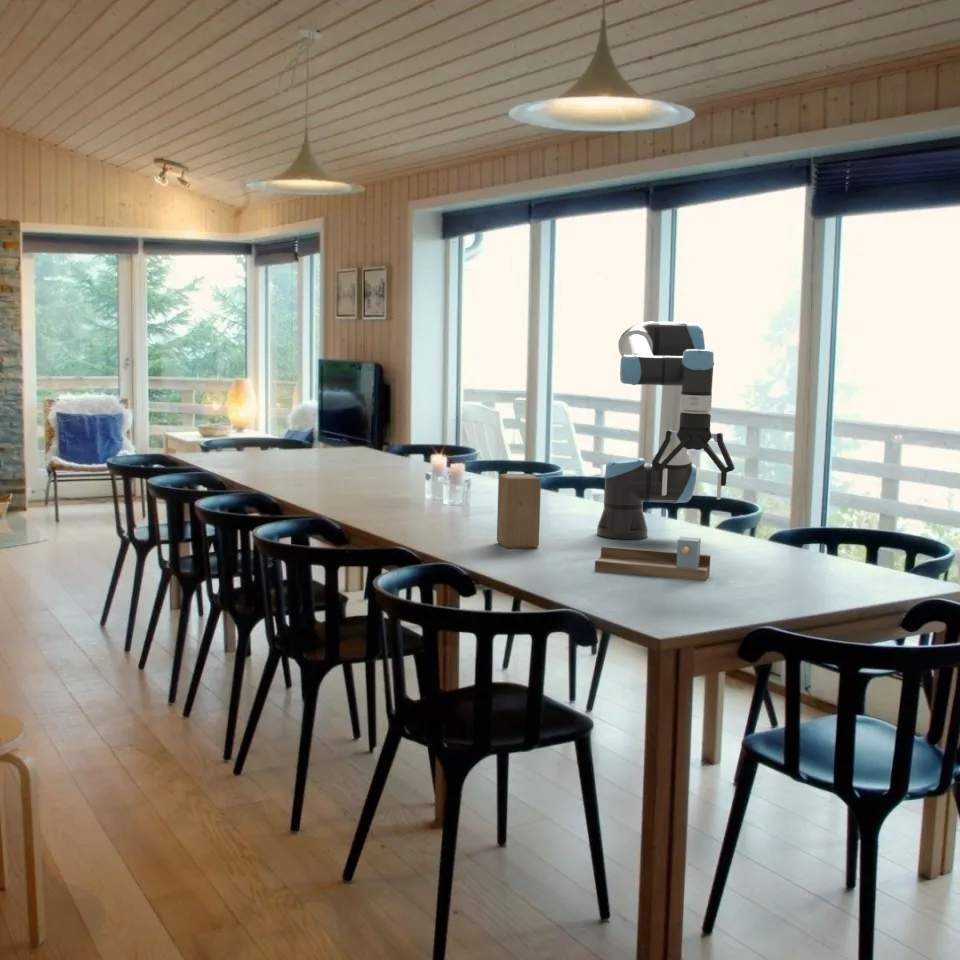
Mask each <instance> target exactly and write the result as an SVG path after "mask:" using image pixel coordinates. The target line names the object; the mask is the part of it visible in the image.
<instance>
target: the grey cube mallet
mask: <svg viewBox="0 0 960 960" xmlns="http://www.w3.org/2000/svg"><path fill="white" fill-rule="evenodd" d="M676 545H677V547H676V552H677V564H676V567H681V568H692V569H697V568H698V566H699V560H700V554H701V537H690V536H680V537H679V538H678V539H677V544H676Z"/></svg>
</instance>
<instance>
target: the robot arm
mask: <svg viewBox="0 0 960 960" xmlns="http://www.w3.org/2000/svg"><path fill="white" fill-rule="evenodd" d="M705 346H706V344H705V337H704V330H703V328H702V326H701V324H699V323H697V322H689V321H644V322H639V323H637V324H634V325H632V326H630V327H629V328H627V329H626V330H625V331H623V332H622V334H621V335H620V338H619V339H618V352H619V354H620V357H621V359H620V367H619V368H620V370H619V380H620V382H621V383H622V384H624V385H625V384H626V385H631V386H636V385H637V386H638V385H639V386H640V385H644V386H647V385H649V386H650V385H651V386H652V385H653V386H661V400H660V401H661V403H660V419H659V433H658V434H659V435H658V448H657V449H658V451H657V452H656V453H655V454H654V455H653V456H652V461H651V462H646V460H645V458H643V457H623V458H618V459H617V458H616V459H612V460H610V461H608V462H607V463H606V465H605V473H604V474H605V475H604V479H605V480H604V496H603V510H602V512H601V517H600V519H599V522H598V524H597V527H596V534H597V536H599V537H603V538H608V539H615V540H640V539H645V538H647V537H648V534H649V533H648V532H649V531H648V525H647V522H646V518H645V514H644V512H643V510H644V509H643V507H644V502H649V503H652V502H653V503H671V504H678V503H682V504H683V503H688V502H689V501H690V500H691V499H692V497H693V494H694V491H695V486H696V482H697V481H696V480H697V466H696V464H694V463H693V458H692V457H691V456H690V455H689V453H688V450H695V451H701V450H704V452H705V453H706V455H708V457H709V458H710V459H711V460H712V462H713V463H714V465H715V466H716V467H717V468H718V470H719V472H717V484H716V485H717V486H716V488H717V489H716V500H721V499H722V489H723V488H722V487H725V486H726V484H727V478H728V477H727V475H728V473H729V472H732V471H734V470H735V465H734V463H733V460H732V457H731V456H730V454H729V452H728V449H727V447H726V445H725V441H724V435H723V432H721V431H720V432H718V433H711V419H712V415H711V413H710V412H711V411H712V401H713V400H712V399H713V397H712V396H713V395H712V394H713V393H712V392H713V391H712V390H713V376H714V366H715V362H714V355H715V354H714V351H713V350H711V349H706V347H705ZM711 439H713V441H714V442H715V443H717V446H718V449H719V450H720V453H721V455H722V458H723V460H724V462H725V464H726V466H725V464H724V462H723V461H722V460H721V459H720V458H719V456H718V455H717V454H716V453H715V451H714V450H713V449H712V447H711V446H710V444H709V442H710V440H711Z"/></svg>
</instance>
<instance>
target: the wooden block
mask: <svg viewBox="0 0 960 960" xmlns="http://www.w3.org/2000/svg"><path fill="white" fill-rule="evenodd" d="M498 475H499V476H498V481H497V482H498V483H497V488H498V489H497V517H496V518H497V520H496V521H497V523H496V542H497V543H498V544H500V545H501V546H502V547H504V548H505V549H534V548H538V547H539V545H540V520H541V519H540V517H541V515H540V514H541V495H542V494H541V492H542V491H541V490H542V488H541V487H542V482H541V481H542V480H541V478H540V477H538V476H535V475H533V474H530V473H501V474H498Z"/></svg>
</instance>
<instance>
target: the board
mask: <svg viewBox="0 0 960 960" xmlns="http://www.w3.org/2000/svg"><path fill="white" fill-rule="evenodd" d="M676 564H677V551H667V550H666V551H664V550H651V549H642V548H641V549H640V548H628V547H617V546H606V545H605V546H604V545H602V546H600V557H598V558H597V559H596V560H595V561H594V571H595V572H604V573H617V574H628V575H637V576H651V577H661V578H671V579H672V578H673V579H683V580H694V581H703V582H704V581H706V580H707V579H708V578H709V576H710V571H711V554H701V553H700V560H699V566H698V568H697V569H692V568H681V567H676Z"/></svg>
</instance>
